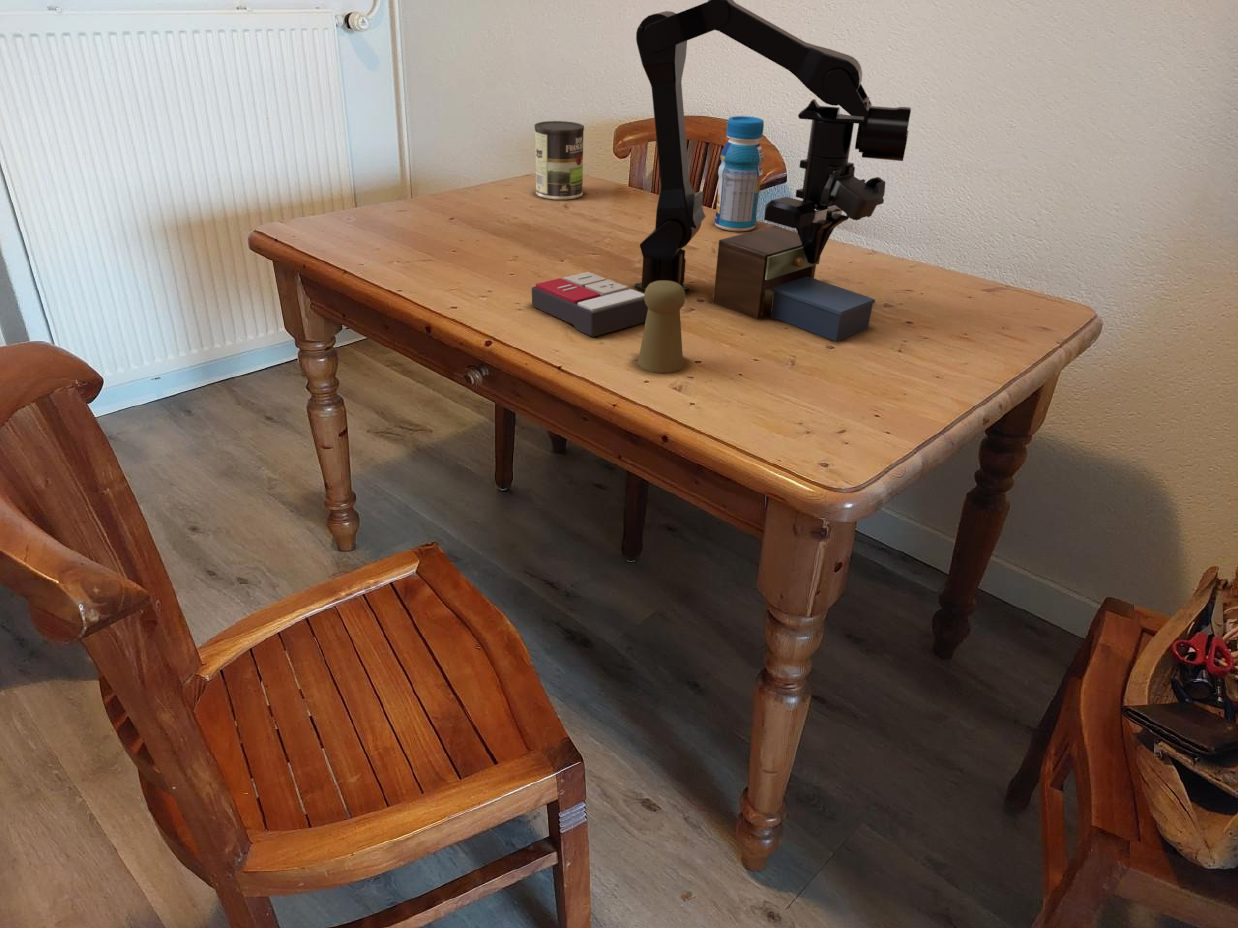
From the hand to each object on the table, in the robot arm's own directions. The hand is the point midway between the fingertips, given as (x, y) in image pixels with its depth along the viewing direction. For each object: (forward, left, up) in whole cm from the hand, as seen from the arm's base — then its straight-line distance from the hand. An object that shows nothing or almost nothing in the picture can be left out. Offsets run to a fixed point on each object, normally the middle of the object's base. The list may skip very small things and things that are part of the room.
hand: (812, 263), depth 130 cm
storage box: (-2, -4, -7) cm, 9 cm away
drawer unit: (-2, +6, -7) cm, 10 cm away
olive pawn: (-31, 0, -8) cm, 32 cm away
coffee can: (+13, +76, -8) cm, 77 cm away
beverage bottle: (+26, +37, -8) cm, 45 cm away
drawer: (-2, +5, -1) cm, 6 cm away
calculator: (-27, +19, -8) cm, 34 cm away
